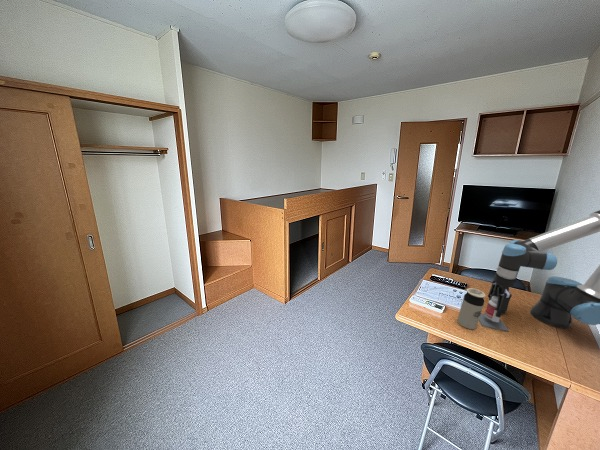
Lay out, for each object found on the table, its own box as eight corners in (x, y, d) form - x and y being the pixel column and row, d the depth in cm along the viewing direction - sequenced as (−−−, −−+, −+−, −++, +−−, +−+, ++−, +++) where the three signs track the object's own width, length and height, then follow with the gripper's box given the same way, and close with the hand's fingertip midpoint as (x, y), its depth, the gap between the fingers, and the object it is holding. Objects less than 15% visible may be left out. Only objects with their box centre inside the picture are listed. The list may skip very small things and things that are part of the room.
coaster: (498, 317, 126) (498, 316, 126) (508, 331, 116) (509, 330, 116) (474, 312, 129) (474, 311, 129) (482, 326, 119) (482, 325, 119)
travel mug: (453, 318, 124) (462, 287, 119) (469, 319, 123) (479, 288, 118) (463, 329, 116) (472, 296, 111) (480, 330, 116) (490, 297, 111)
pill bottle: (497, 323, 118) (504, 303, 114) (482, 317, 122) (488, 297, 119) (500, 318, 122) (507, 299, 118) (485, 312, 126) (491, 293, 123)
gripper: (488, 265, 125) (476, 304, 131) (506, 284, 107) (491, 327, 114) (505, 268, 123) (492, 307, 129) (526, 287, 105) (510, 331, 112)
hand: (491, 316), depth 122 cm, fingers closed on pill bottle, 6 cm apart
